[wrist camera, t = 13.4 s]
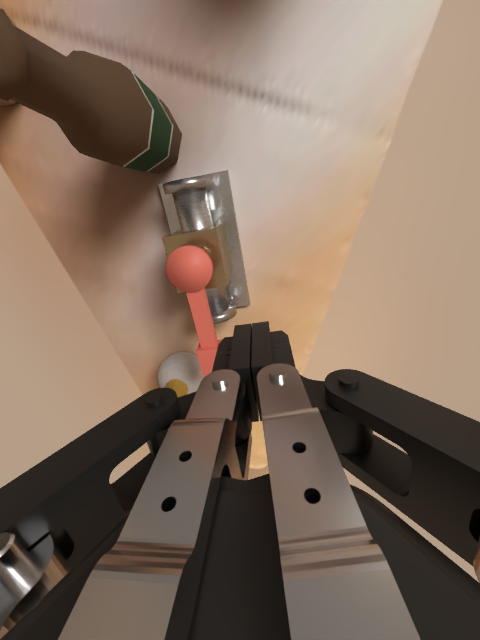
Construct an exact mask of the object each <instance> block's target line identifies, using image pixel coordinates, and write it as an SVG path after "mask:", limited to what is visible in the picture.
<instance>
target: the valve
mask: <svg viewBox="0 0 480 640" xmlns="http://www.w3.org/2000/svg"><path fill="white" fill-rule="evenodd" d="M158 185H159V189H160V193H161V197H162V201H163V205H164V208H165V212H166V216H167V220H168V224H169V228H170V231H171V234H169V235H167V236H165V237H163V238H162V239H163V243H164V246H165V250H166V254H167V257H169V255H170V254H171V253H172V252H173V251H175V250H176V249H178V248H179V247H181V246H184V245H196V246H199V247H201V248H203V249H204V250H205V251H206V252H207V253H208V254H209V255H210V257H211V259H212V262H213V275H212V277H211V279H210V281H209V283H208V284H207V285H206V286H205V291H206V295H207V299H208V303H209V308H210V312H211V316H212V320H213V324H217V323H221V322H224V321H227V320H229V319H231V318H233V317H234V316H235V315H236V313H237V311H236V307H241V306H248V305H250V299H249V293H248V287H247V281H246V275H245V269H244V263H243V257H242V251H241V245H240V239H239V233H238V227H237V221H236V215H235V209H234V203H233V197H232V191H231V186H230V180H229V174H228V170H227V171H222V172H217V173H212V174H207V175H202V176H197V177H191V178H185V179H180V180H175V181H171V182H167V183H162V184H158ZM176 290H177V293H184V291H181V290H179V289H177V288H176Z"/></svg>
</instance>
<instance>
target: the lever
mask: <svg viewBox="0 0 480 640" xmlns="http://www.w3.org/2000/svg"><path fill="white" fill-rule="evenodd" d="M166 274H167V277H168V279H169V280H170V282H171V283H172V284H173V285H174V286H175V287H176V288H177V289H179V290H181V291H184V292H186V294H187V298H188V301H189V305H190V309H191V312H192V316H193V320H194V324H195V327H196V331H197V335H198V338H199V342H200V343H199V345H198V348H197V350H196V353H197V356H198V360H199V363H200V367H201V371H202V374H203V378H204V377H205V376H206V375H208V374H209V373H211V372H212V368H213V364H214V360H215V357H216V352H217V348H218V344H219V343H220V342H221V341H222V340H217V337H216V332H215V328H214V324H213V320H212V316H211V312H210V308H209V303H208V299H207V295H206V291H205V286H206V285H207V284H208V283H209V281H210V279H211V277H212V275H213V262H212V259H211V257H210V255H209V254H208V253H207V252H206V251H205V250H204V249H203V248H201V247H199V246H196V245H184V246H181V247H179V248H178V249H176V250H175V251H173V252H172V253H171V254H170V255H169V257H168V259H167V262H166Z"/></svg>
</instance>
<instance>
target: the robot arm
mask: <svg viewBox="0 0 480 640" xmlns="http://www.w3.org/2000/svg"><path fill="white" fill-rule="evenodd" d="M8 18H9V17H8ZM9 19H10V18H9ZM10 21H11V20H10ZM11 22H12V21H11ZM12 24H13V26H15V27H16V25H15V24H14V23H13V22H12ZM15 103H16V102H15V101H13V100H11V99H10V100H9V101H6V100H2V99H0V106H8V105H12V104H15ZM258 409H259V411H258ZM259 415H260V421H262V423H263V431H264V438H265V445H266V453H267V460H268V467H269V474H267V475H263V476H261V477H257V478H254V479H251V480H248V474H249V464H250V455H251V445H252V436H251V429H252V422H256V421H259ZM373 431H375V432H377V433H378V434H380V435H382V436H383V437H385V438H387V439H388V440H390V441H392V442H394V443H395V444H397V445H399V446H400V447H401V448H403V449H404V450H405V451H406V453H407V454H406V453H404V452H403V451H401V450H399V449H397V448H396V447H394V446H392V445H391V444H389V443H387V442H386V441H384V440H382V439H381V438H379V437H377V436H376V435H374V434H373ZM146 442H147V444H148V446H149V449H150V451H151V453H149V454H148V455H147V456H146V457H144V458H143V459H142V460H141V461H140V462H138V463H137V464H136V465H135V466H134V467H132V468H131V469H130V470H129V471H128V472H126V473H125V474H124V475H123V476H121V477H120V478H119V479H118V480H117V481H115V482H114V483H112V484H110V483H109V477H110V474H111V472H112V470H113V469H114V468H115V467H116V466H117V465H118V464H119V463H120V462H122V461H123V460H124V459H126V458H127V457H128V456H129V455H130V454H132V453H133V452H134V451H136V450H137V449H138V448H139V447H141V446H142V445H143V444H145V443H146ZM343 468H345V469H346V470H347V471H349V472H350V473H351V474H353V475H354V476H355V477H356V478H358V479H359V480H360V481H362V482H363V483H364V484H366V485H367V486H369V487H370V488H371V489H372V490H374V491H375V492H376V493H378V494H379V495H380V496H381V497H383V498H384V499H386V500H387V501H388V502H389V503H391V504H392V505H393V506H395V507H396V508H397V509H399V510H400V511H401V512H402V513H404V514H405V515H406V516H408V517H409V518H410V519H412V520H413V521H414V522H416V523H417V524H418V525H419V526H421V527H422V528H423V529H425V530H426V531H427V532H429V533H430V534H431V535H433V536H434V537H435V538H437V539H438V540H439V541H440V542H442V543H443V544H444V545H446V546H447V547H448V548H450V549H451V550H452V551H454V552H455V553H456V554H458V555H459V556H460V557H461V558H463V559H464V560H465V561H467V562H468V563H470V564H471V565H472V566H473V567H474V570H475V573H476V576H477V578H478V580H479V582H477V581H476V580H475V579H474V578H472V577H471V576H470V575H469V574H468V573H466V572H465V571H464V570H463V569H462V568H460V567H459V566H458V565H457V564H455V563H454V562H453V561H452V560H451V559H449V558H448V557H447V556H446V555H445V554H443V553H442V552H441V551H440V550H438V549H437V548H436V547H435V546H433V545H432V544H431V543H430V542H429V541H428V540H426V539H425V538H424V537H423V536H421V535H420V534H419V533H418V532H417V531H415V530H414V529H413V528H412V527H411V526H409V525H408V524H407V523H406V522H404V521H403V520H402V519H401V518H400V517H398V516H397V515H396V514H394V513H393V512H392V511H391V510H390V509H389V508H387V507H386V506H385V505H384V504H382V503H381V502H380V501H379V500H377V499H376V498H374V497H373V496H371V495H370V494H368V493H367V492H365V491H363V490H361V489H359V488H357V487H355V486H352V485H350V484H349V482H348V480H347V477H346V475H345V472H344V470H343ZM0 640H480V422H478V421H476V420H473V419H471V418H469V417H466V416H464V415H461V414H459V413H457V412H455V411H452V410H450V409H448V408H445V407H443V406H441V405H438V404H436V403H434V402H431V401H429V400H426V399H424V398H422V397H419V396H417V395H415V394H412V393H410V392H407V391H405V390H403V389H401V388H398V387H396V386H393V385H391V384H389V383H386V382H384V381H381V380H379V379H377V378H375V377H372V376H370V375H368V374H365V373H363V372H360V371H357V370H351V369H342V370H337V371H334V372H332V373H330V374H329V375H327V377H326V378H325V381H316V380H311V379H307V378H305V377H303V376H301V375H300V374H299V372H298V370H297V369H296V368H295V364H294V359H293V355H292V351H291V347H290V343H289V338H288V335H287V334H285V333H284V332H283V331H274V332H270V329H269V322H268V321H267V322H259V323H252V325H251V324H244V325H236V326H235V328H234V335H233V337H225V338H224V339H223V340H222V341H221V342H220V343H219V344H218V348H217V352H216V357H215V360H214V364H213V368H212V372H211V373H209V374H208V375H206V376H205V377H204V378H203V379H202V380H201V382H200V385H199V387H198V389H197V391H195V392H193V393H190V394H187V395H184V396H181V397H177V394H176V392H175V390H173V389H171V388H157V389H154V390H151V391H149V392H147V393H145V394H144V395H142V396H141V397H139V398H138V399H136V400H135V401H133V402H132V403H130V404H128V405H127V406H125V407H124V408H122V409H121V410H119V411H118V412H116V413H115V414H113V415H112V416H110V417H109V418H107V419H106V420H104V421H103V422H101V423H99V424H98V425H96V426H95V427H93V428H92V429H90V430H89V431H87V432H86V433H84V434H83V435H81V436H80V437H78V438H77V439H75V440H74V441H72V442H70V443H69V444H67V445H66V446H65V447H63V448H61V449H60V450H58V451H57V452H55V453H54V454H52V455H51V456H49V457H48V458H46V459H45V460H43V461H42V462H40V463H39V464H37V465H35V466H34V467H32V468H31V469H29V470H28V471H26V472H25V473H23V474H22V475H20V476H19V477H17V478H16V479H14V480H12V481H11V482H10V483H8V484H7V485H5V486H3V487H2V488H0Z"/></svg>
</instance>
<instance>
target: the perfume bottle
mask: <svg viewBox="0 0 480 640" xmlns="http://www.w3.org/2000/svg"><path fill="white" fill-rule="evenodd" d="M202 379H203V374H202V371H201V367H200V363H199V360H198V357H197V356H195V355H194V354H191V353H189V352H178V353H174V354H172V355H170V356H168V357H167V358H166V359H165V360H164V361H163V362H162V364H161V365H160V368H159V371H158V383H159V386H160V388H171V389H173V390H175V392H176V394H177V397H181V396H184V395H187V394H190V393H193V392H195V391H197V389H198V387H199V385H200V382H201V380H202Z"/></svg>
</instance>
